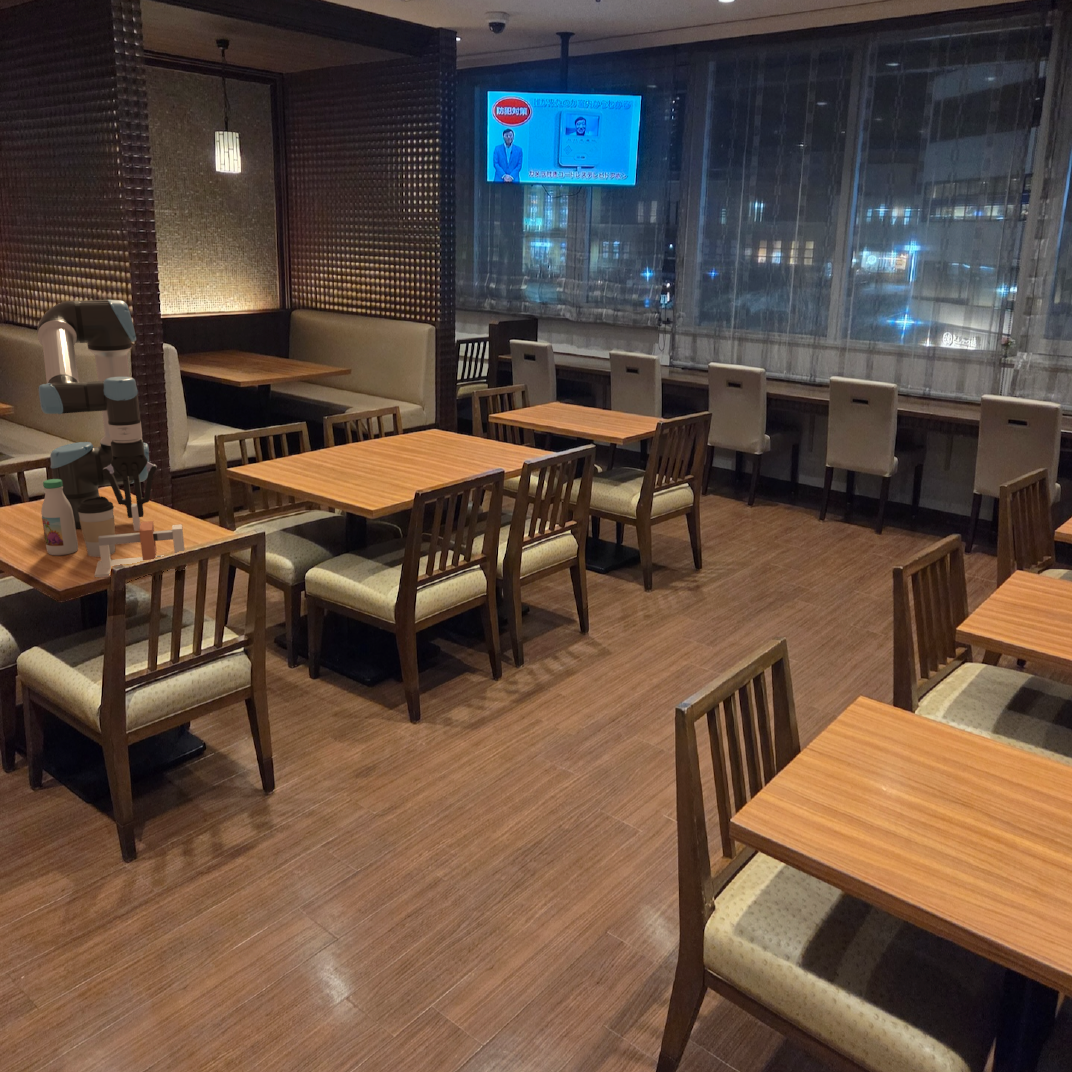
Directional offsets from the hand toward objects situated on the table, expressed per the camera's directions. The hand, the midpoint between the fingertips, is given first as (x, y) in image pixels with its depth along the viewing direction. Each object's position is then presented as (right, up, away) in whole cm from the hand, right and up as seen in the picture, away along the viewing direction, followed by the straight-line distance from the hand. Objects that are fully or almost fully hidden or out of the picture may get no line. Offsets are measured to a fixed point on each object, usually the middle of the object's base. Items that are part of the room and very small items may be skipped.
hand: (137, 529), depth 247 cm
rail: (0, -10, +3) cm, 10 cm away
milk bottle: (-26, -6, +14) cm, 30 cm away
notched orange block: (+2, -3, +2) cm, 4 cm away
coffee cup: (-15, -6, +13) cm, 21 cm away
